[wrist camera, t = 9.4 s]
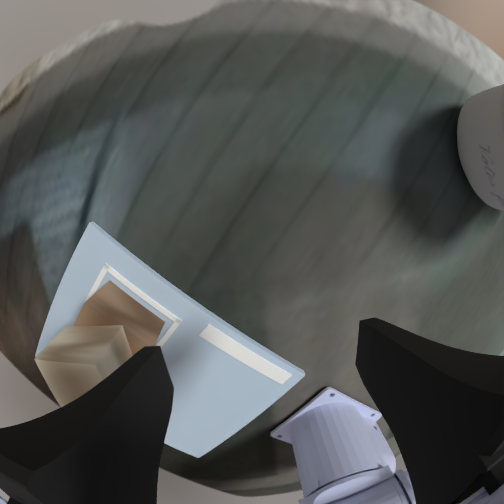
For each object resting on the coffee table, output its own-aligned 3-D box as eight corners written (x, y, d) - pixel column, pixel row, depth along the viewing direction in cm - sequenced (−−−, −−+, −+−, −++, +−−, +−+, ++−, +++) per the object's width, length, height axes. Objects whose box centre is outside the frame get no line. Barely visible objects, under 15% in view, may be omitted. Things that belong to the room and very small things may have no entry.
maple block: (122, 325, 14) (95, 364, 10) (143, 383, 15) (127, 426, 11) (66, 326, 14) (34, 359, 10) (89, 380, 15) (67, 416, 11)
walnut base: (165, 321, 19) (151, 353, 15) (135, 362, 19) (120, 393, 16) (109, 280, 18) (84, 302, 14) (85, 325, 18) (62, 351, 15)
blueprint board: (303, 370, 21) (305, 375, 20) (199, 454, 24) (198, 458, 23) (93, 221, 17) (88, 222, 16) (37, 353, 20) (34, 356, 19)
